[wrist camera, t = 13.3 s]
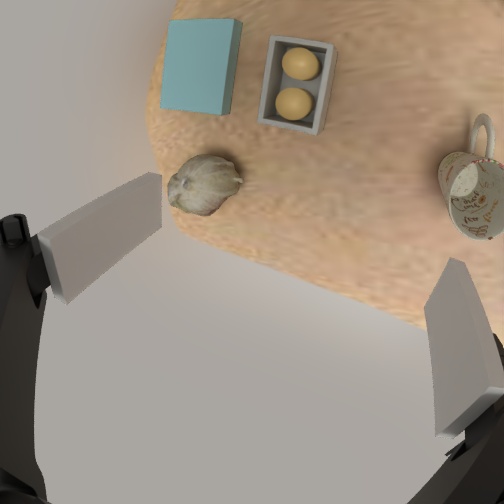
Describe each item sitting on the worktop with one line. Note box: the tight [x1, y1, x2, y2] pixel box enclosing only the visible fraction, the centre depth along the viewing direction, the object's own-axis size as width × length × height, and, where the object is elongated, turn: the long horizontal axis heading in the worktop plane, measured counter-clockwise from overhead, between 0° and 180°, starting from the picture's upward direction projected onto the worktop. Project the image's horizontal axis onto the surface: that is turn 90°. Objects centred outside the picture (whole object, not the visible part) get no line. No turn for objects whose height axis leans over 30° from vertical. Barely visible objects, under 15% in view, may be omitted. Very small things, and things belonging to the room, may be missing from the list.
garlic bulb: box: [168, 155, 244, 216], centre depth 39 cm, size 9×8×10 cm
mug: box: [438, 114, 504, 241], centre depth 26 cm, size 8×13×10 cm, turn 1°
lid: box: [160, 19, 242, 115], centre depth 34 cm, size 13×9×3 cm
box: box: [257, 35, 338, 136], centre depth 30 cm, size 10×6×6 cm, turn 172°
